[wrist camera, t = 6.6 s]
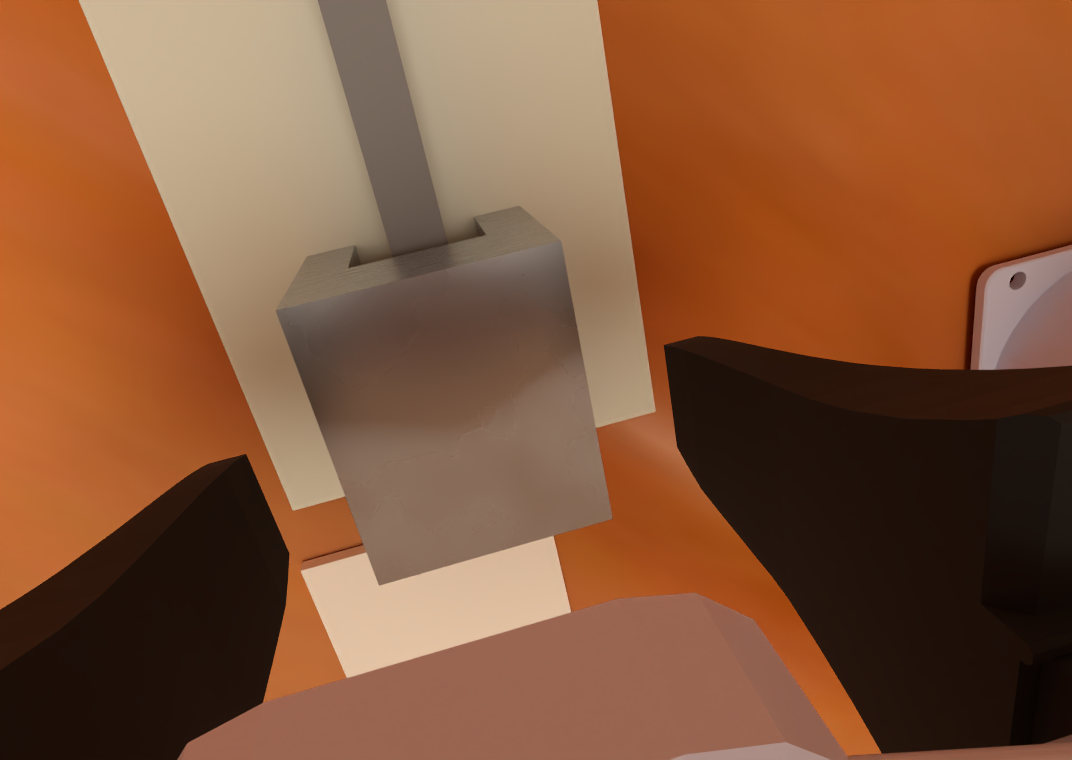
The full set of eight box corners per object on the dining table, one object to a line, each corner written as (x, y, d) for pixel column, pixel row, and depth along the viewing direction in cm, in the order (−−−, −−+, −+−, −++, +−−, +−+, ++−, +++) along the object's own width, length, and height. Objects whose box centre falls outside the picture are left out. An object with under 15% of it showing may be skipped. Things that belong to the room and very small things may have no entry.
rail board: (538, -350, 13) (587, -507, 9) (648, 402, 19) (700, 464, 16) (-19, -262, 12) (-179, -401, 8) (295, 498, 18) (274, 585, 15)
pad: (542, 494, 20) (545, 501, 19) (583, 668, 22) (586, 677, 22) (302, 561, 19) (300, 571, 19) (375, 732, 22) (375, 742, 21)
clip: (519, 205, 16) (561, 240, 12) (565, 427, 18) (612, 518, 14) (307, 256, 15) (275, 310, 11) (382, 477, 18) (378, 586, 14)
